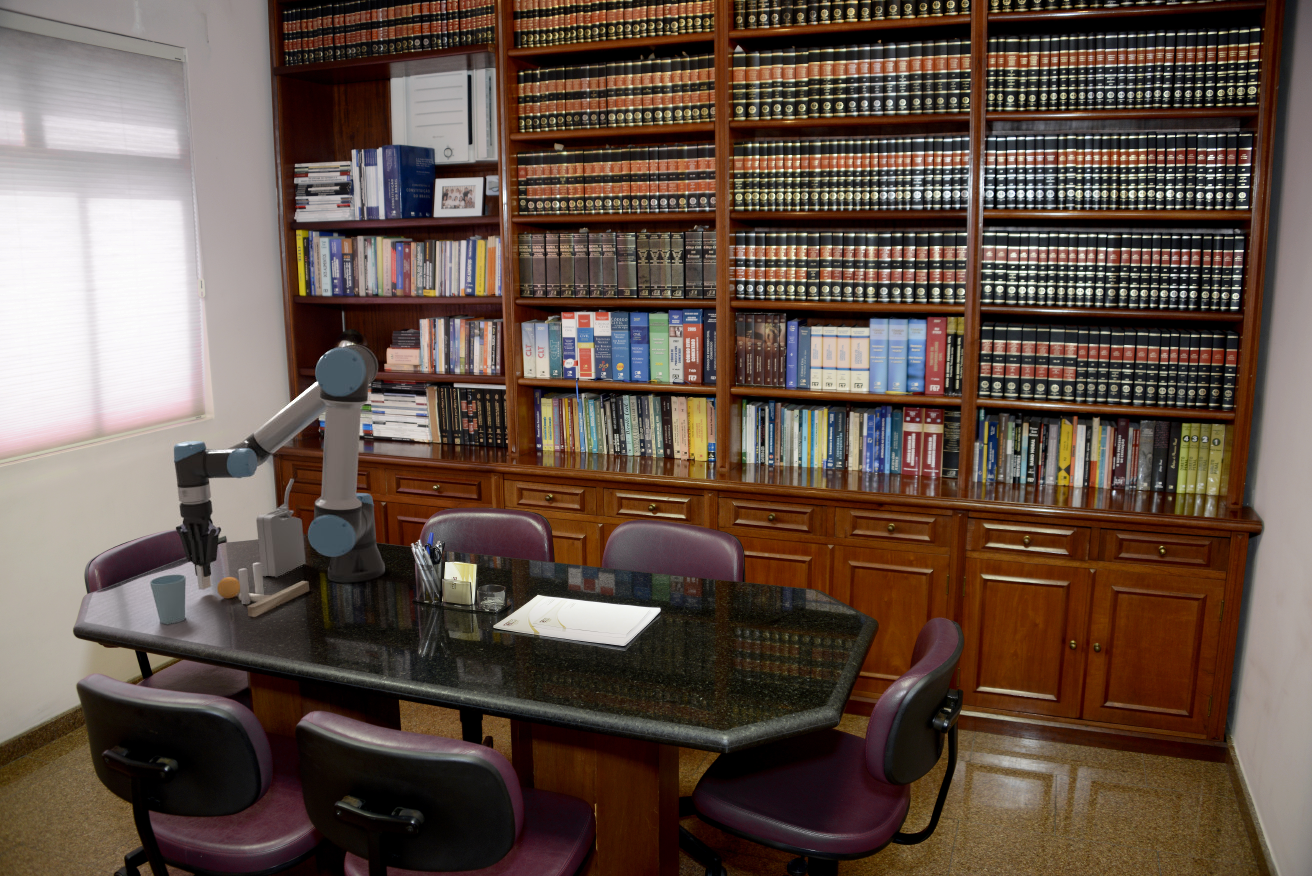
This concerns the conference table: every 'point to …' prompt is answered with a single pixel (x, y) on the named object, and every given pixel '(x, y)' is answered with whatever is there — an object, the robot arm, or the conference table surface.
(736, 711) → the conference table surface
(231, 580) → the ball
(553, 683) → the conference table surface
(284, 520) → the fuel canister
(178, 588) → the cup
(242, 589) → the pin
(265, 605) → the beige wooden bar
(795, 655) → the conference table surface
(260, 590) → the pin
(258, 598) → the front pin
